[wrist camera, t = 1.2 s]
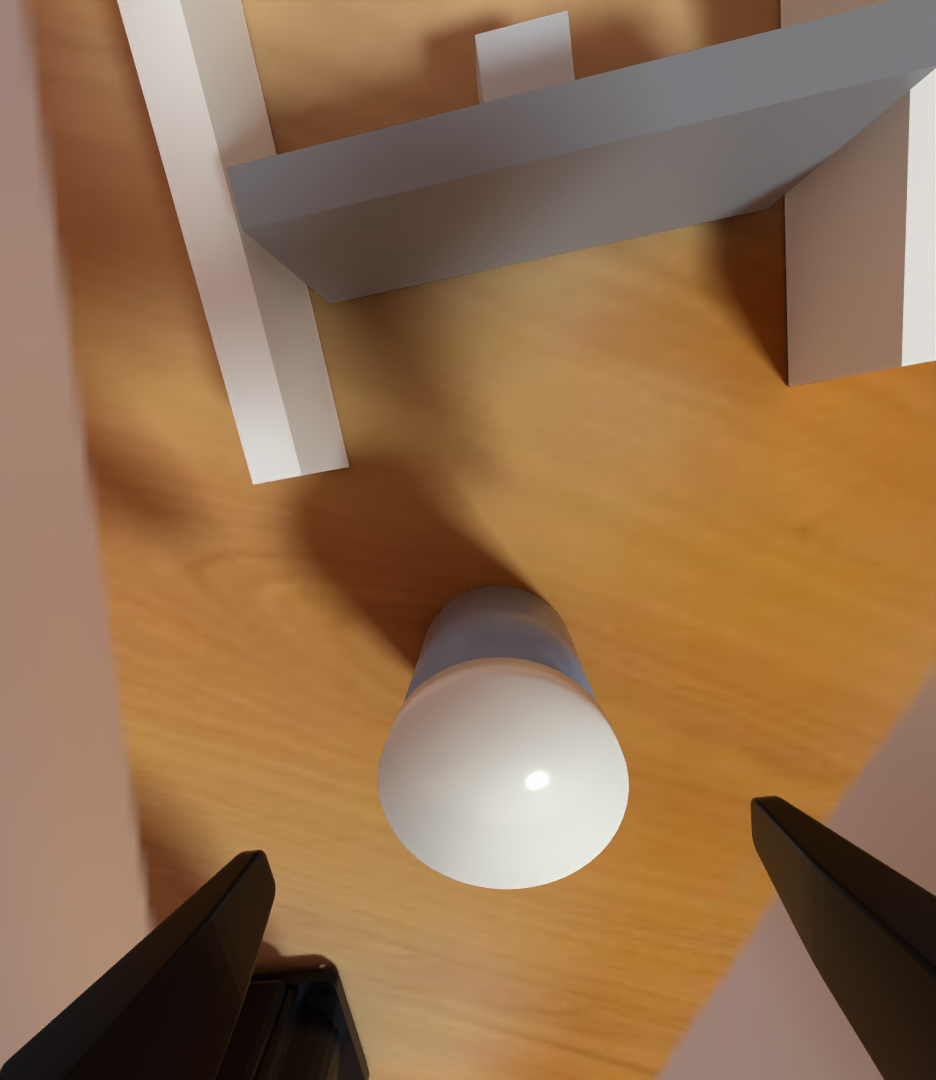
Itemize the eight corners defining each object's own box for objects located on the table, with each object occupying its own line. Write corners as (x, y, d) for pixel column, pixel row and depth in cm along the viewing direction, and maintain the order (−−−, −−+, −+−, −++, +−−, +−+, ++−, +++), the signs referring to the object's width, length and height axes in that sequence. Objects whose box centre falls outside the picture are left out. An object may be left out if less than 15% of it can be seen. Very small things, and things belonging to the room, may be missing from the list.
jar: (583, 713, 15) (639, 877, 9) (436, 731, 16) (406, 898, 10) (565, 570, 14) (615, 660, 8) (406, 594, 14) (352, 694, 9)
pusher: (768, 208, 11) (939, 64, 7) (329, 304, 12) (242, 230, 8) (762, 20, 10) (953, -276, 6) (292, 138, 11) (173, -43, 7)
